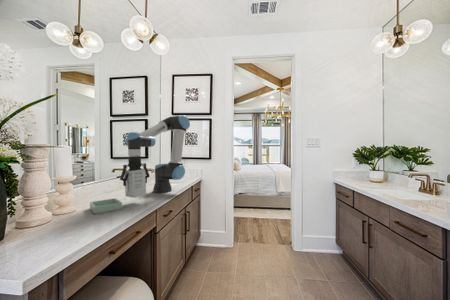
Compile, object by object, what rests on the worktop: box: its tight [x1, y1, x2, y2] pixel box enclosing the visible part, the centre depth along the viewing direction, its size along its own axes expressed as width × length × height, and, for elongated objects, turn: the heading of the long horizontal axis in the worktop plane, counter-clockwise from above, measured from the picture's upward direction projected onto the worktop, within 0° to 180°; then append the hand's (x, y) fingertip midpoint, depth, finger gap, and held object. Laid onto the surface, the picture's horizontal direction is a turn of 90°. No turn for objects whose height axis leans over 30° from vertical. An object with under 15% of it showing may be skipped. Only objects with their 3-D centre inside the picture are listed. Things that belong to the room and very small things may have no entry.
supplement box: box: [124, 169, 147, 198], centre depth 132 cm, size 10×9×17 cm
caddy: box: [89, 197, 123, 215], centre depth 119 cm, size 14×15×4 cm
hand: (135, 189), depth 132 cm, fingers closed on supplement box, 11 cm apart
